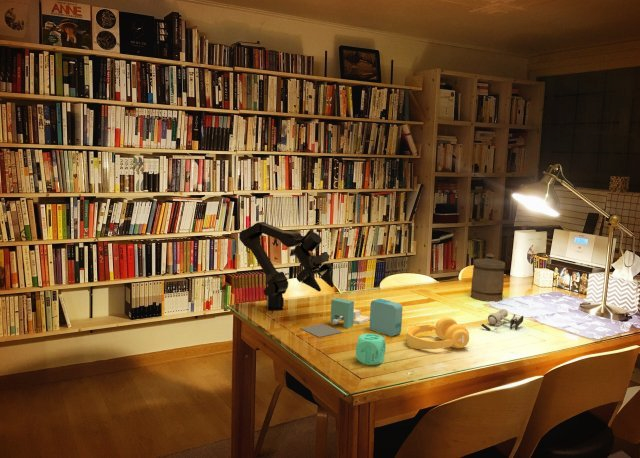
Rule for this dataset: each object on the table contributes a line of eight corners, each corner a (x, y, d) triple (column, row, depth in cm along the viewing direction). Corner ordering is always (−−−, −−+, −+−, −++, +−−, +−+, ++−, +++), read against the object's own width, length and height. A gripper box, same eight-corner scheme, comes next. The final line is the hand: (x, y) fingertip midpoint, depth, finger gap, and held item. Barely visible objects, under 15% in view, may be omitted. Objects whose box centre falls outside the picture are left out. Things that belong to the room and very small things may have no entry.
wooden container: (505, 297, 274) (509, 253, 271) (497, 303, 261) (501, 257, 258) (475, 292, 281) (479, 249, 278) (466, 298, 269) (470, 253, 266)
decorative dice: (355, 362, 180) (356, 339, 179) (362, 354, 188) (363, 332, 187) (378, 366, 178) (380, 342, 176) (385, 358, 185) (386, 335, 184)
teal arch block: (330, 324, 220) (331, 299, 219) (335, 321, 223) (336, 297, 222) (347, 328, 216) (348, 303, 214) (352, 325, 219) (354, 301, 217)
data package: (401, 334, 210) (403, 304, 209) (394, 337, 207) (396, 306, 205) (376, 327, 218) (377, 297, 217) (369, 329, 215) (370, 299, 213)
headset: (398, 337, 207) (400, 313, 206) (450, 336, 212) (452, 313, 211) (417, 355, 190) (419, 329, 189) (473, 353, 195) (475, 328, 194)
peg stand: (323, 325, 218) (324, 315, 217) (349, 314, 234) (349, 305, 233) (345, 330, 212) (345, 320, 212) (370, 319, 228) (370, 310, 228)
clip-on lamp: (500, 342, 215) (525, 324, 226) (501, 328, 213) (526, 311, 224) (474, 331, 224) (500, 315, 234) (475, 317, 222) (500, 301, 232)
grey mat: (300, 328, 213) (300, 327, 213) (322, 324, 220) (322, 323, 220) (318, 337, 204) (319, 336, 203) (342, 332, 210) (342, 331, 210)
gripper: (303, 248, 215) (326, 281, 210) (330, 243, 230) (351, 273, 226) (287, 265, 221) (308, 297, 216) (314, 259, 236) (334, 289, 231)
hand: (326, 288), depth 222 cm, fingers open, 9 cm apart
